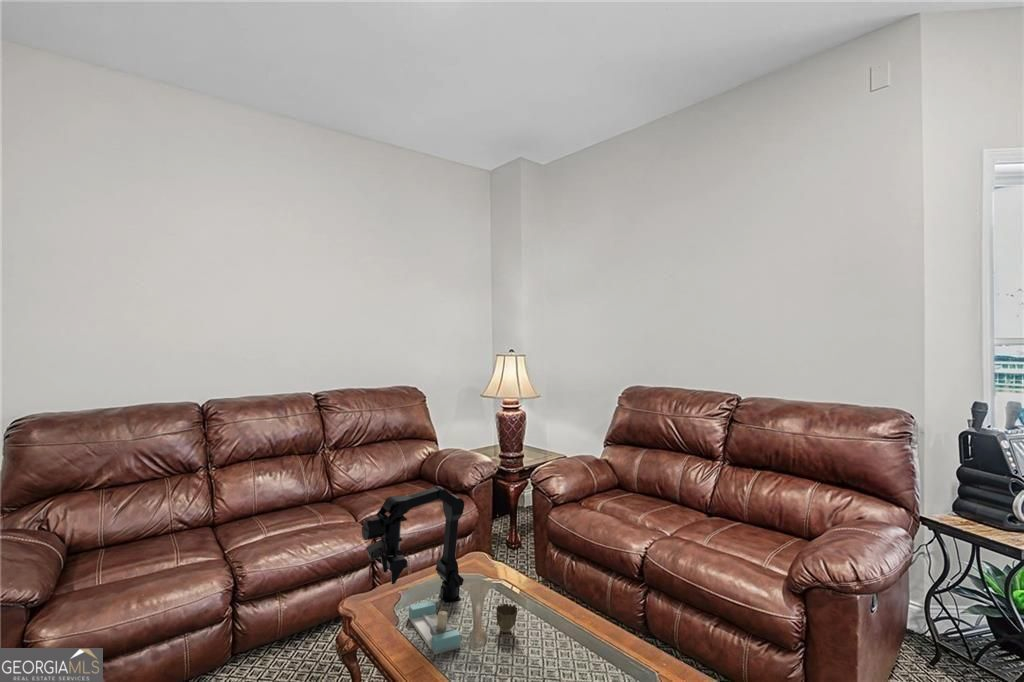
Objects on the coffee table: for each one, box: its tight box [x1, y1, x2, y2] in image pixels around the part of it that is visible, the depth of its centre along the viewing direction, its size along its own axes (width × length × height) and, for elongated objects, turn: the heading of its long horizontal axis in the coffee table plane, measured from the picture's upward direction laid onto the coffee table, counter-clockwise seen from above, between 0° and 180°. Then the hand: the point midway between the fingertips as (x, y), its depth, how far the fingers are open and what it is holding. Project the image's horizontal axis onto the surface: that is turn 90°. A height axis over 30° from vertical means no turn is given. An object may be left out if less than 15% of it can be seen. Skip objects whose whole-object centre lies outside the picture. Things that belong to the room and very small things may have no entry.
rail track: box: [407, 600, 462, 656], centre depth 179 cm, size 9×23×4 cm, turn 32°
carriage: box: [430, 610, 454, 636], centre depth 173 cm, size 6×4×8 cm
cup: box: [495, 603, 518, 634], centre depth 183 cm, size 8×7×8 cm
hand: (389, 577), depth 185 cm, fingers open, 9 cm apart
